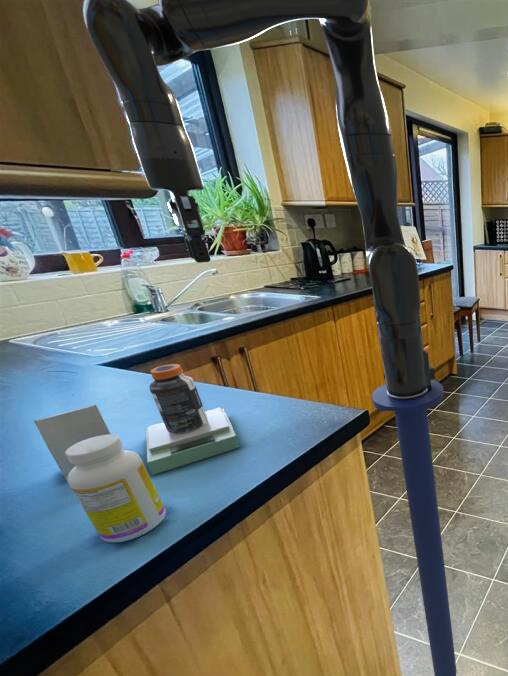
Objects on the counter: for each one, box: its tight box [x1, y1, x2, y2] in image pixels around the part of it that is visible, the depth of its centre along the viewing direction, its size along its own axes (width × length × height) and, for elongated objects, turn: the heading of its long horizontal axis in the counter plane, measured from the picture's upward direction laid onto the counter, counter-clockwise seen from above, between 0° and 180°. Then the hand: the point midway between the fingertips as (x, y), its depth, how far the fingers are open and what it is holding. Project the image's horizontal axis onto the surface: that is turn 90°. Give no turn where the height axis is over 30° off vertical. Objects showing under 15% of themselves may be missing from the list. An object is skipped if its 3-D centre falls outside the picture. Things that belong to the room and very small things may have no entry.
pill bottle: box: [149, 363, 208, 433], centre depth 69 cm, size 6×6×11 cm
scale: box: [145, 406, 241, 476], centre depth 71 cm, size 12×14×3 cm
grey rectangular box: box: [33, 404, 112, 482], centre depth 64 cm, size 4×7×10 cm, turn 141°
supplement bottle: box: [65, 434, 167, 543], centre depth 50 cm, size 7×7×13 cm
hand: (200, 260), depth 72 cm, fingers open, 8 cm apart
